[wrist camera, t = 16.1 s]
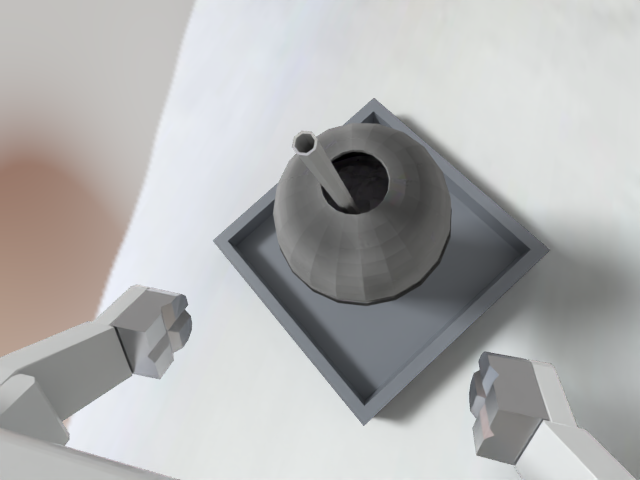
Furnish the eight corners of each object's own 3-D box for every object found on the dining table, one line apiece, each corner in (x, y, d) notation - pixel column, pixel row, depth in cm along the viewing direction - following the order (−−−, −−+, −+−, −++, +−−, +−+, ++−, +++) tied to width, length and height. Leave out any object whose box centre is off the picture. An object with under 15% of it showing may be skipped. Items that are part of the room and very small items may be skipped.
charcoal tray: (374, 116, 30) (374, 97, 27) (533, 257, 25) (550, 249, 23) (226, 247, 29) (212, 240, 26) (364, 416, 25) (363, 426, 22)
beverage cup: (440, 245, 26) (627, 11, 6) (385, 334, 25) (408, 375, 6) (352, 195, 27) (291, -105, 8) (299, 276, 27) (93, 159, 7)
